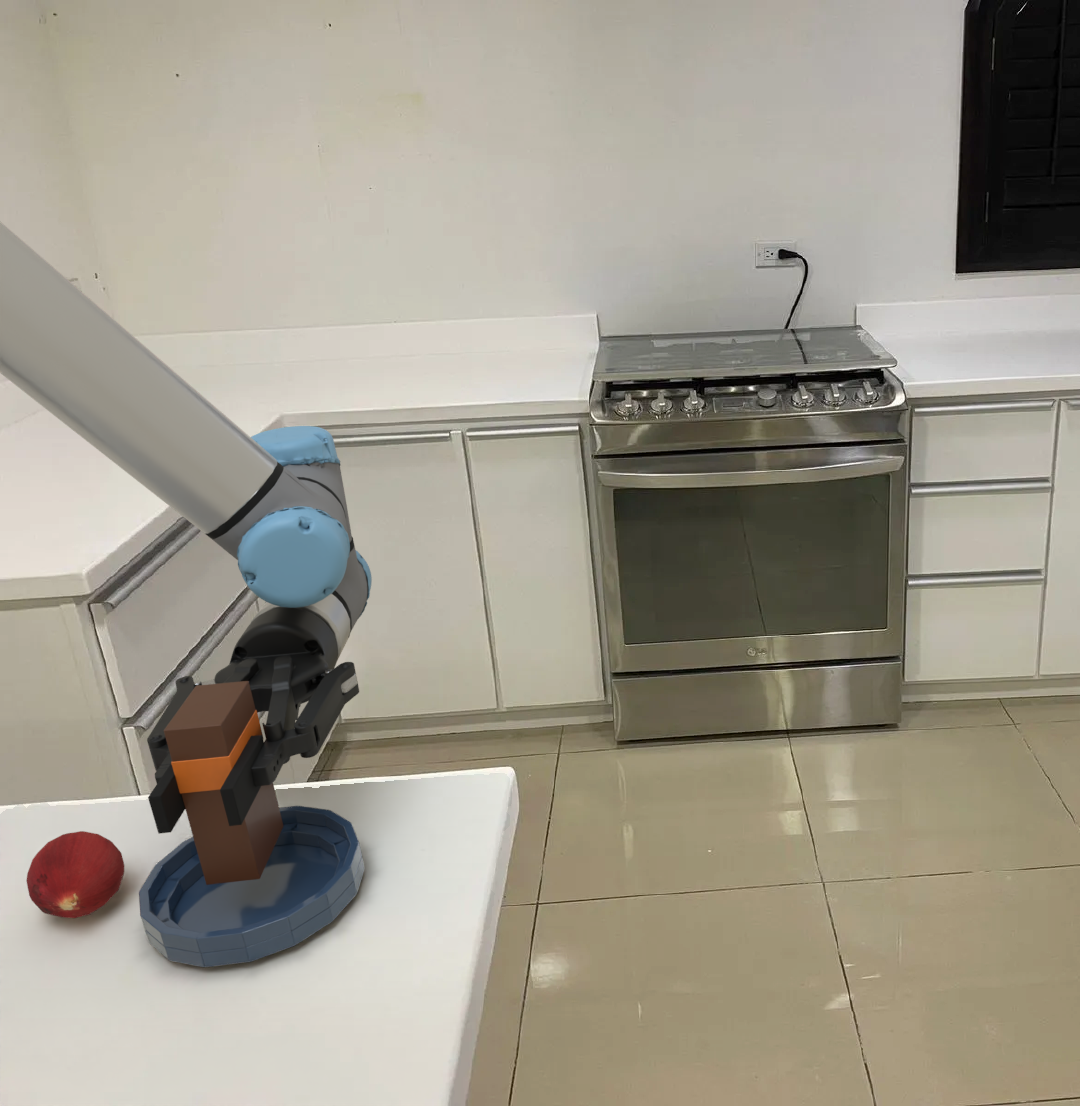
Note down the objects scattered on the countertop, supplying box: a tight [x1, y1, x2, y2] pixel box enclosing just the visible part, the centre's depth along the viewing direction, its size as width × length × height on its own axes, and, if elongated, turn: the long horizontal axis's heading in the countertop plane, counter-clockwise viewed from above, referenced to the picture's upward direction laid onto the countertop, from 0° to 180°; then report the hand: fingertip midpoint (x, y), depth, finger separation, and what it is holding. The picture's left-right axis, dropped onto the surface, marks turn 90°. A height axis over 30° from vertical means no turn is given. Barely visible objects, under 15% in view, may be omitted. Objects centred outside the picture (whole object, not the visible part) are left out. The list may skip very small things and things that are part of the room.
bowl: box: [138, 805, 366, 968], centre depth 76 cm, size 14×14×3 cm
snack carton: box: [164, 681, 283, 885], centre depth 73 cm, size 4×6×12 cm, turn 7°
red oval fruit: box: [26, 830, 125, 919], centre depth 76 cm, size 6×6×8 cm
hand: (195, 810), depth 68 cm, fingers closed on snack carton, 4 cm apart
